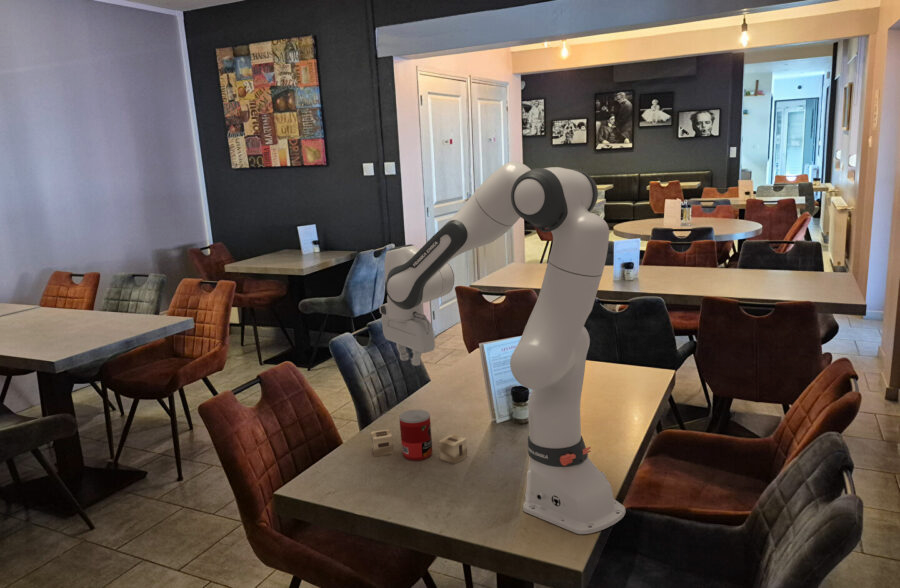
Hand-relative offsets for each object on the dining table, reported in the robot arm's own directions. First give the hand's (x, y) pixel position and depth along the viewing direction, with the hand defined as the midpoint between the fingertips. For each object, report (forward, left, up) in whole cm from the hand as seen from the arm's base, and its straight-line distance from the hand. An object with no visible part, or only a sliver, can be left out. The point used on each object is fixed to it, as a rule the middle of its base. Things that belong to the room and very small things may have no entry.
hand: (410, 362), depth 165 cm
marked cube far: (+8, +6, -25) cm, 27 cm away
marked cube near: (-8, -6, -25) cm, 27 cm away
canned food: (0, 0, -25) cm, 25 cm away
